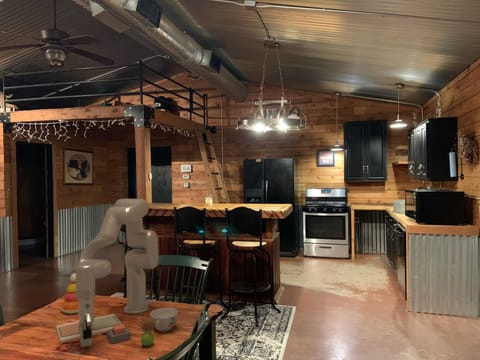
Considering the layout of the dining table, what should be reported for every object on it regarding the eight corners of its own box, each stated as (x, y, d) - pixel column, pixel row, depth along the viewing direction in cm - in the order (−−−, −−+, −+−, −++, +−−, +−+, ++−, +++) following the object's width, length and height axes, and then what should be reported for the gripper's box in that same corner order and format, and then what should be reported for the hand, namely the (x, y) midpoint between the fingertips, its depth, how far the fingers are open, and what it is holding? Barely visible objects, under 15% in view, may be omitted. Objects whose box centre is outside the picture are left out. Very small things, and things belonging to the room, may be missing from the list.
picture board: (113, 315, 179) (113, 313, 179) (123, 328, 164) (123, 325, 164) (56, 327, 165) (56, 325, 165) (60, 343, 150) (60, 340, 150)
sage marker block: (90, 341, 151) (90, 317, 151) (92, 344, 148) (91, 321, 148) (80, 343, 149) (80, 320, 149) (81, 347, 146) (81, 323, 146)
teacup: (157, 322, 170) (156, 306, 170) (181, 324, 168) (181, 307, 168) (143, 336, 155) (143, 318, 155) (170, 338, 153) (170, 320, 153)
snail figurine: (139, 342, 150) (139, 314, 149) (155, 342, 150) (154, 313, 150) (137, 348, 144) (136, 319, 144) (153, 348, 145) (152, 319, 145)
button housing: (125, 332, 159) (125, 325, 159) (130, 339, 153) (130, 332, 153) (107, 336, 155) (107, 330, 155) (111, 344, 148) (111, 337, 148)
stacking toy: (95, 309, 187) (95, 272, 187) (68, 317, 177) (68, 278, 176) (83, 303, 197) (82, 268, 196) (56, 310, 186) (56, 273, 186)
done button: (122, 330, 157) (122, 323, 157) (125, 334, 153) (125, 327, 153) (112, 332, 154) (112, 326, 154) (114, 336, 151) (114, 329, 151)
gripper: (98, 297, 143) (98, 339, 143) (91, 286, 157) (91, 325, 157) (78, 300, 139) (78, 344, 139) (72, 289, 153) (72, 329, 153)
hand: (85, 334), depth 148 cm, fingers open, 9 cm apart
